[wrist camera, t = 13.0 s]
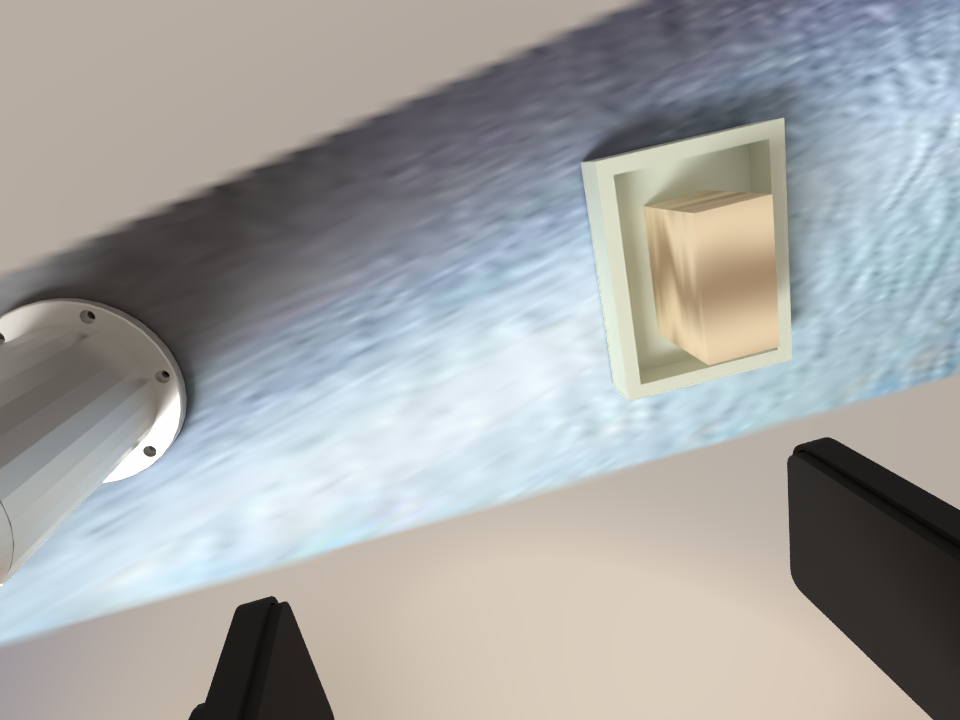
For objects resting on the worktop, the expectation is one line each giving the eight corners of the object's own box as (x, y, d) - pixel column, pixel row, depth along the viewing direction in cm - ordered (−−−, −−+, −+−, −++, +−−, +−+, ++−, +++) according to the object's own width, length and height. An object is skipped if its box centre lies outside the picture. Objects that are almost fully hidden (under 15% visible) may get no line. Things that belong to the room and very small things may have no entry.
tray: (613, 386, 42) (628, 401, 39) (580, 162, 37) (595, 161, 34) (766, 347, 43) (792, 359, 40) (755, 121, 37) (784, 117, 35)
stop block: (642, 206, 37) (694, 213, 31) (707, 190, 38) (772, 194, 31) (658, 333, 40) (708, 365, 34) (718, 318, 41) (779, 346, 34)
